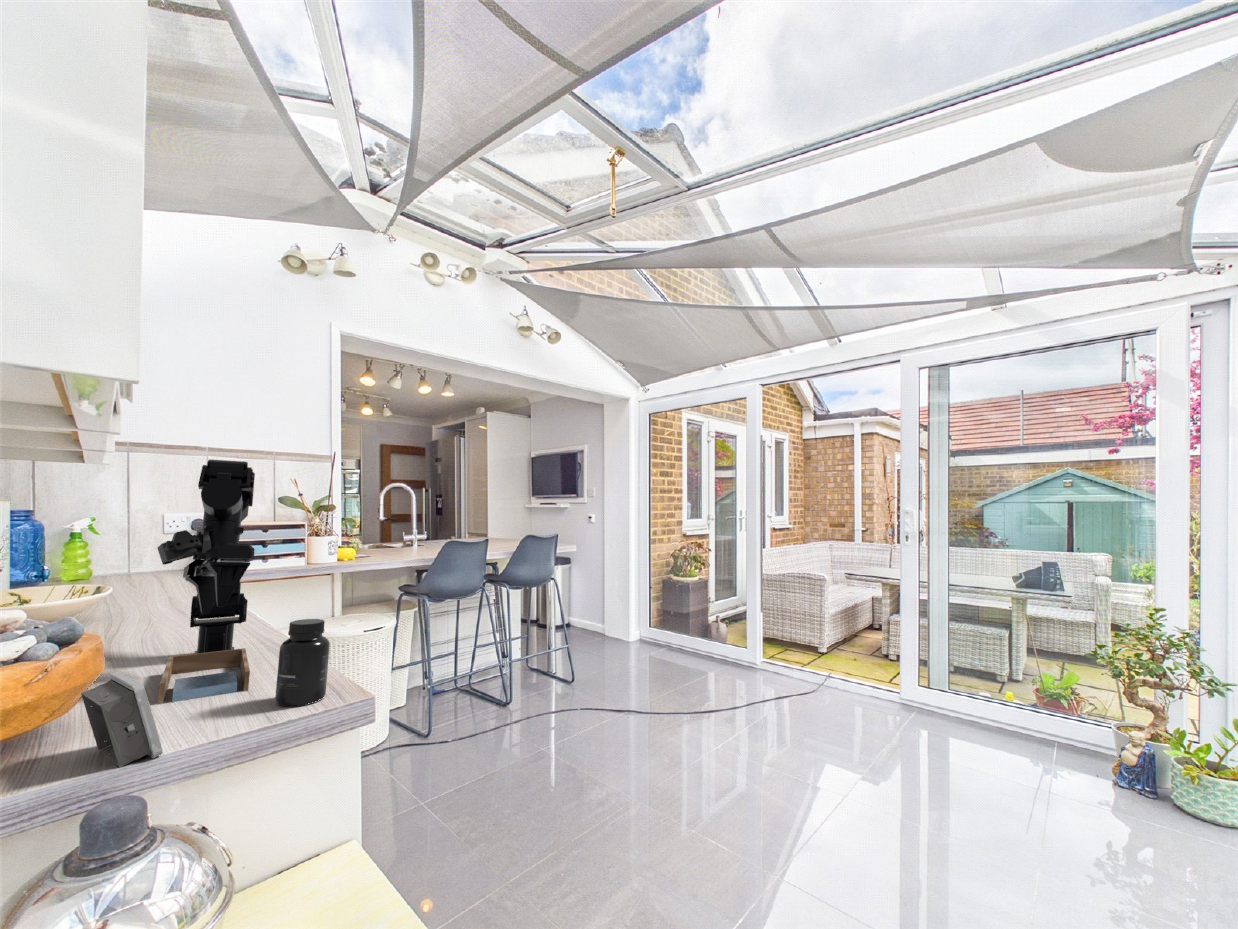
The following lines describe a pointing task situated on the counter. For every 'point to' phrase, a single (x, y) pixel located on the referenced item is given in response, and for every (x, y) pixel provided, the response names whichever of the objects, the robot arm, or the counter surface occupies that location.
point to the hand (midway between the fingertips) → (212, 610)
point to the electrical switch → (122, 720)
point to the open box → (204, 666)
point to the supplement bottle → (303, 664)
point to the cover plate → (204, 686)
